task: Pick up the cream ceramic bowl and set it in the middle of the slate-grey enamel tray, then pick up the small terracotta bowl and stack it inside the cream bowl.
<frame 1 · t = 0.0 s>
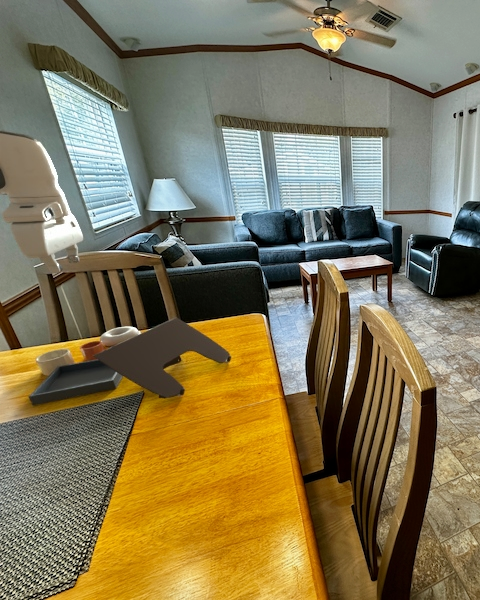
hand: (66, 267, 81), 30 cm above the table, tool pointing down, fingers open, 8 cm apart
tray: (87, 381, 87), on the table
cream bowl: (59, 368, 93), on the table
laptop tray: (179, 374, 91), on the table
terracotta bowl: (95, 356, 99), on the table
donut: (121, 341, 108), on the table
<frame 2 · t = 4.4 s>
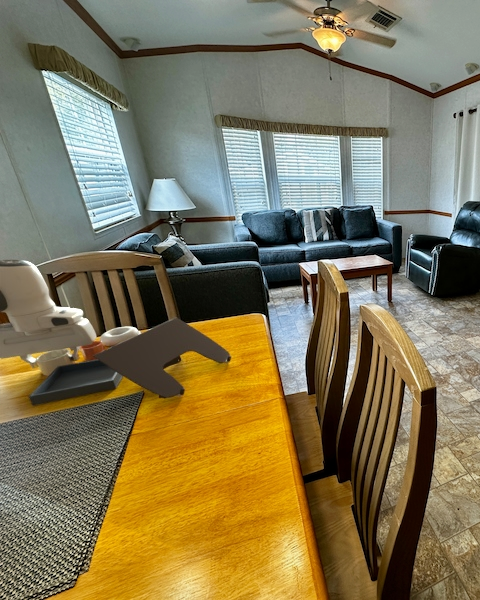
hand: (57, 363, 92), 2 cm above the table, tool pointing down, fingers closed on cream bowl, 7 cm apart
cream bowl: (59, 368, 93), on the table, touching gripper
everything else where it was.
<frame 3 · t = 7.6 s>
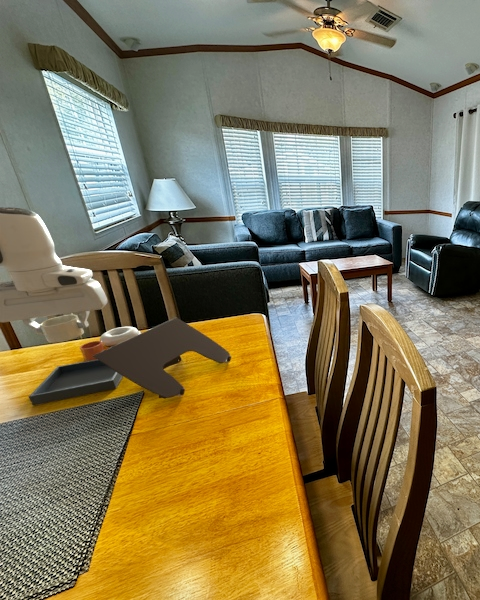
hand: (63, 330, 82), 15 cm above the table, tool pointing down, fingers closed on cream bowl, 7 cm apart
cream bowl: (66, 336, 83), point 13 cm above the table, touching gripper
everything else where it was.
when the fingers open (2 cm above the table, at t = 11.0 s): cream bowl stays where it is, resting on tray.
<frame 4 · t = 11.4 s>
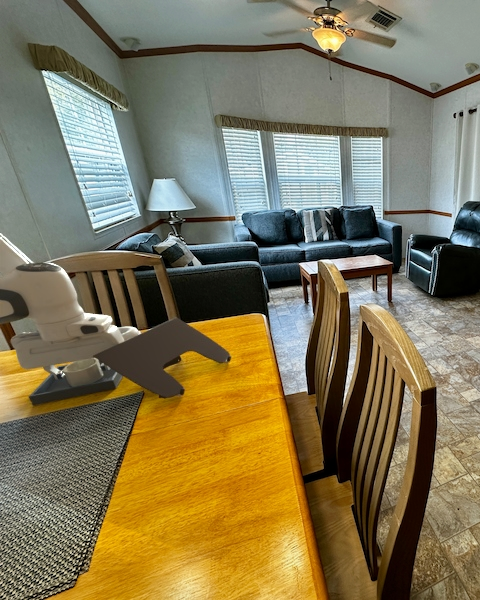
hand: (84, 373, 87), 2 cm above the table, tool pointing down, fingers open, 8 cm apart
cream bowl: (87, 379, 87), point 1 cm above the table, touching tray
everything else where it was.
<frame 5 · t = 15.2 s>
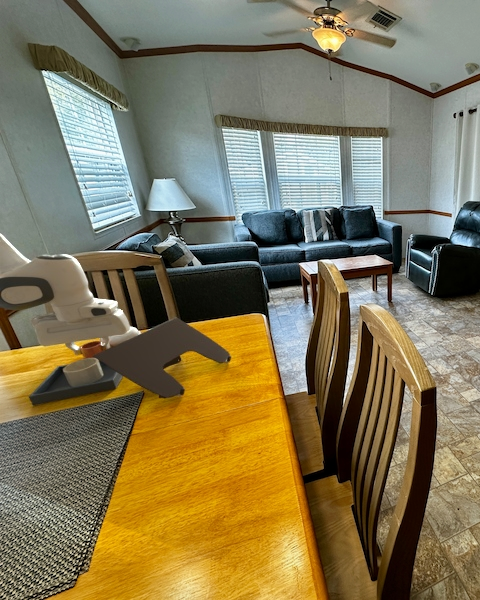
hand: (93, 351, 98), 2 cm above the table, tool pointing down, fingers closed on terracotta bowl, 5 cm apart
terracotta bowl: (95, 356, 99), on the table, touching gripper
everything else where it was.
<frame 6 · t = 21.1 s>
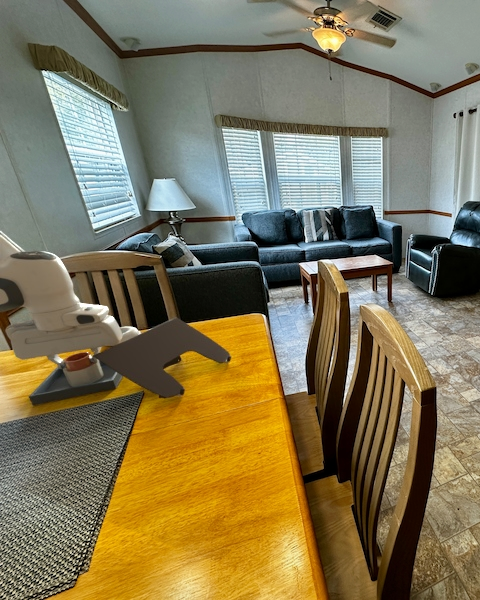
hand: (80, 364, 86), 5 cm above the table, tool pointing down, fingers closed on terracotta bowl, 5 cm apart
terracotta bowl: (82, 369, 86), point 4 cm above the table, touching gripper
everything else where it was.
when the fingers open (5 cm above the table, at t = 36.0 s): terracotta bowl stays where it is, resting on cream bowl.
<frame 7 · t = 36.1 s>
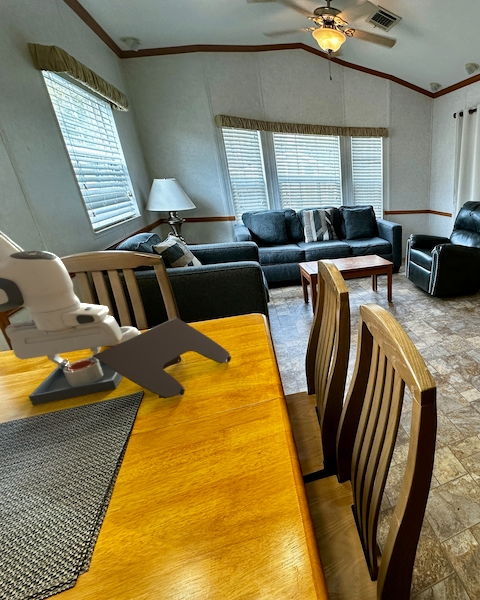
hand: (80, 364, 85), 5 cm above the table, tool pointing down, fingers open, 5 cm apart
cream bowl: (87, 379, 87), point 1 cm above the table, touching terracotta bowl, tray
terracotta bowl: (86, 377, 87), point 1 cm above the table, touching cream bowl
everything else where it was.
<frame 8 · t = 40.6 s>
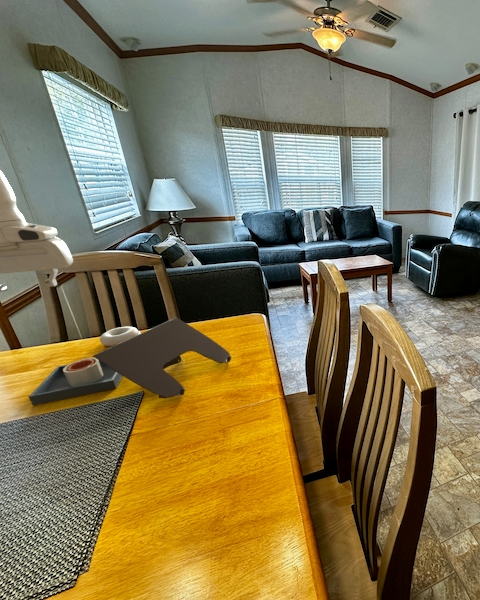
hand: (27, 288, 81), 25 cm above the table, tool pointing down, fingers open, 8 cm apart
nothing on the table moved.
at the end: cream bowl inside the target area in the tray (0.0 cm from its centre), point 0.6 cm above the tray's base; terracotta bowl 0.0 cm off-centre in the cream bowl, point 0.5 cm above the cream bowl's base; terracotta bowl tilted 0° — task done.
